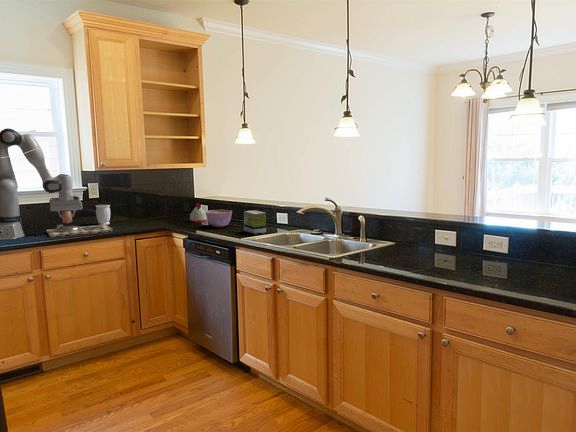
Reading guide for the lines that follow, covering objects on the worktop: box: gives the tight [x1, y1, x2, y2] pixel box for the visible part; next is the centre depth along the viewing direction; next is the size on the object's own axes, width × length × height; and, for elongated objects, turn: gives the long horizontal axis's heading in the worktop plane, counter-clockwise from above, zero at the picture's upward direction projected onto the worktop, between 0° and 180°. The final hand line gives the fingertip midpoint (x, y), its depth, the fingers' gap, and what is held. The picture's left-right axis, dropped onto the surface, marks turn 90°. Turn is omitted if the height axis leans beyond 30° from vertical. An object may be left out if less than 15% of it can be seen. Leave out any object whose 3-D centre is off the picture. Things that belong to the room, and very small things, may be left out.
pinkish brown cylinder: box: [61, 210, 73, 224], centre depth 307 cm, size 8×6×8 cm
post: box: [56, 223, 81, 232], centre depth 310 cm, size 15×15×4 cm
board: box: [46, 224, 114, 238], centre depth 313 cm, size 40×24×2 cm, turn 123°
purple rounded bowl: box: [205, 209, 233, 228], centre depth 333 cm, size 20×20×12 cm
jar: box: [95, 204, 111, 226], centre depth 344 cm, size 11×10×15 cm
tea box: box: [243, 209, 267, 235], centre depth 309 cm, size 15×10×15 cm, turn 36°
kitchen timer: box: [189, 202, 208, 223], centre depth 359 cm, size 14×14×15 cm
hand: (66, 216), depth 308 cm, fingers closed on pinkish brown cylinder, 6 cm apart
